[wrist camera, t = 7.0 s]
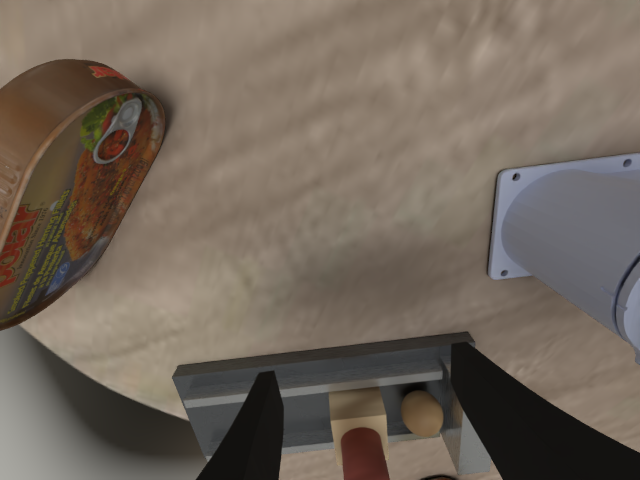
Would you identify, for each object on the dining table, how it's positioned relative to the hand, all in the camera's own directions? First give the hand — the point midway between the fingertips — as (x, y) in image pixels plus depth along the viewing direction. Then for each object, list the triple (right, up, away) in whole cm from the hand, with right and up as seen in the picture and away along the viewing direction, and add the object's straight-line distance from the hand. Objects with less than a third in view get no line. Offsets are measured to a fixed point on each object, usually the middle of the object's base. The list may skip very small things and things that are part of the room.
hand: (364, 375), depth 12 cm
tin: (-15, +9, +7) cm, 19 cm away
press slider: (+1, -8, +13) cm, 16 cm away
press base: (-1, -8, +14) cm, 17 cm away
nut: (+6, -8, +12) cm, 16 cm away
